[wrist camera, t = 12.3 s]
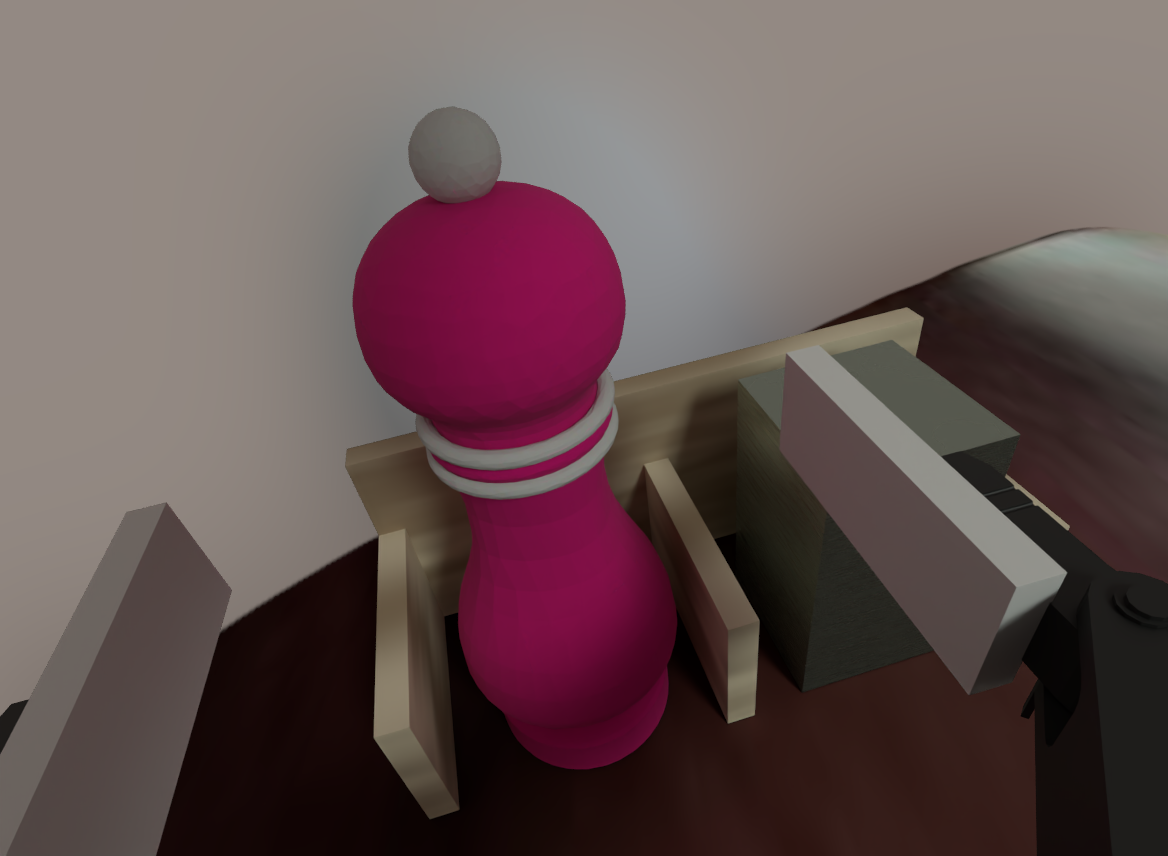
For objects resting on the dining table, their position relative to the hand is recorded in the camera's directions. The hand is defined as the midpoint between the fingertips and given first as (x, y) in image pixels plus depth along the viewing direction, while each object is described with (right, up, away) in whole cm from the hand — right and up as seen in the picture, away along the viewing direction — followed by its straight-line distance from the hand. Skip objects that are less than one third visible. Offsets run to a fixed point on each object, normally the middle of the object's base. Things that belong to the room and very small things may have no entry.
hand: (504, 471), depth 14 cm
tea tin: (+12, -6, +11) cm, 17 cm away
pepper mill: (+2, -9, +10) cm, 14 cm away
